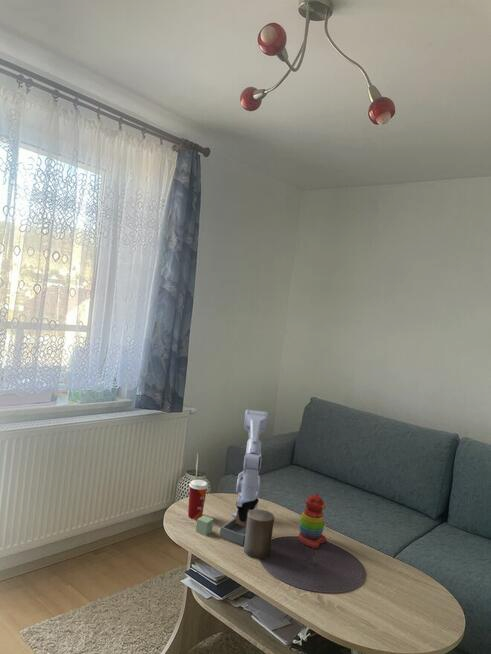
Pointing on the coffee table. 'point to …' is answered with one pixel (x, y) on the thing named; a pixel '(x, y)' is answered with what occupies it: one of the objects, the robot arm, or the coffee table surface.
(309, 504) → the stacking bear
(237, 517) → the walnut block
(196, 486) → the paper cup
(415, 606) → the coffee table surface
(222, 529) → the tray
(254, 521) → the pillar candle
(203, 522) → the sage block
